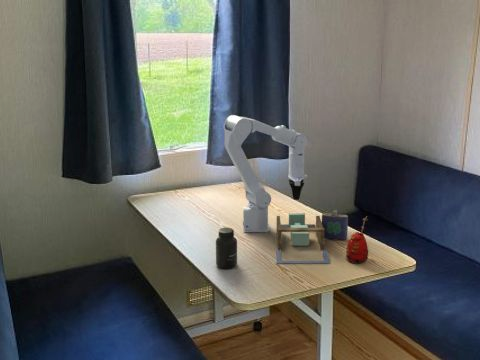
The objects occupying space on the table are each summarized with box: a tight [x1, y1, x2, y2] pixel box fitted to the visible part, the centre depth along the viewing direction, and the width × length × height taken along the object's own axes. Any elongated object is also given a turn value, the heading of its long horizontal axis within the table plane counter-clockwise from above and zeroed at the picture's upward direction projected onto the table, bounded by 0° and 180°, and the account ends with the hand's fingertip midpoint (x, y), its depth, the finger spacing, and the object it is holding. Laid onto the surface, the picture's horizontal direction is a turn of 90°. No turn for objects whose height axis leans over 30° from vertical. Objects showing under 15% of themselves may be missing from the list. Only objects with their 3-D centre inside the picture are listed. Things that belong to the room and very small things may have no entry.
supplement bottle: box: [215, 227, 238, 270], centre depth 169 cm, size 7×7×12 cm
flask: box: [321, 209, 349, 241], centre depth 189 cm, size 9×3×11 cm, turn 74°
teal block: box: [288, 212, 310, 247], centre depth 193 cm, size 6×20×5 cm, turn 178°
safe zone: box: [275, 249, 331, 265], centre depth 176 cm, size 17×10×1 cm, turn 88°
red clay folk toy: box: [345, 215, 369, 264], centre depth 171 cm, size 8×7×15 cm
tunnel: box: [276, 215, 325, 251], centre depth 188 cm, size 16×16×7 cm
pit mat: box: [281, 223, 316, 228], centre depth 201 cm, size 14×6×1 cm, turn 88°
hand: (296, 198), depth 205 cm, fingers closed
